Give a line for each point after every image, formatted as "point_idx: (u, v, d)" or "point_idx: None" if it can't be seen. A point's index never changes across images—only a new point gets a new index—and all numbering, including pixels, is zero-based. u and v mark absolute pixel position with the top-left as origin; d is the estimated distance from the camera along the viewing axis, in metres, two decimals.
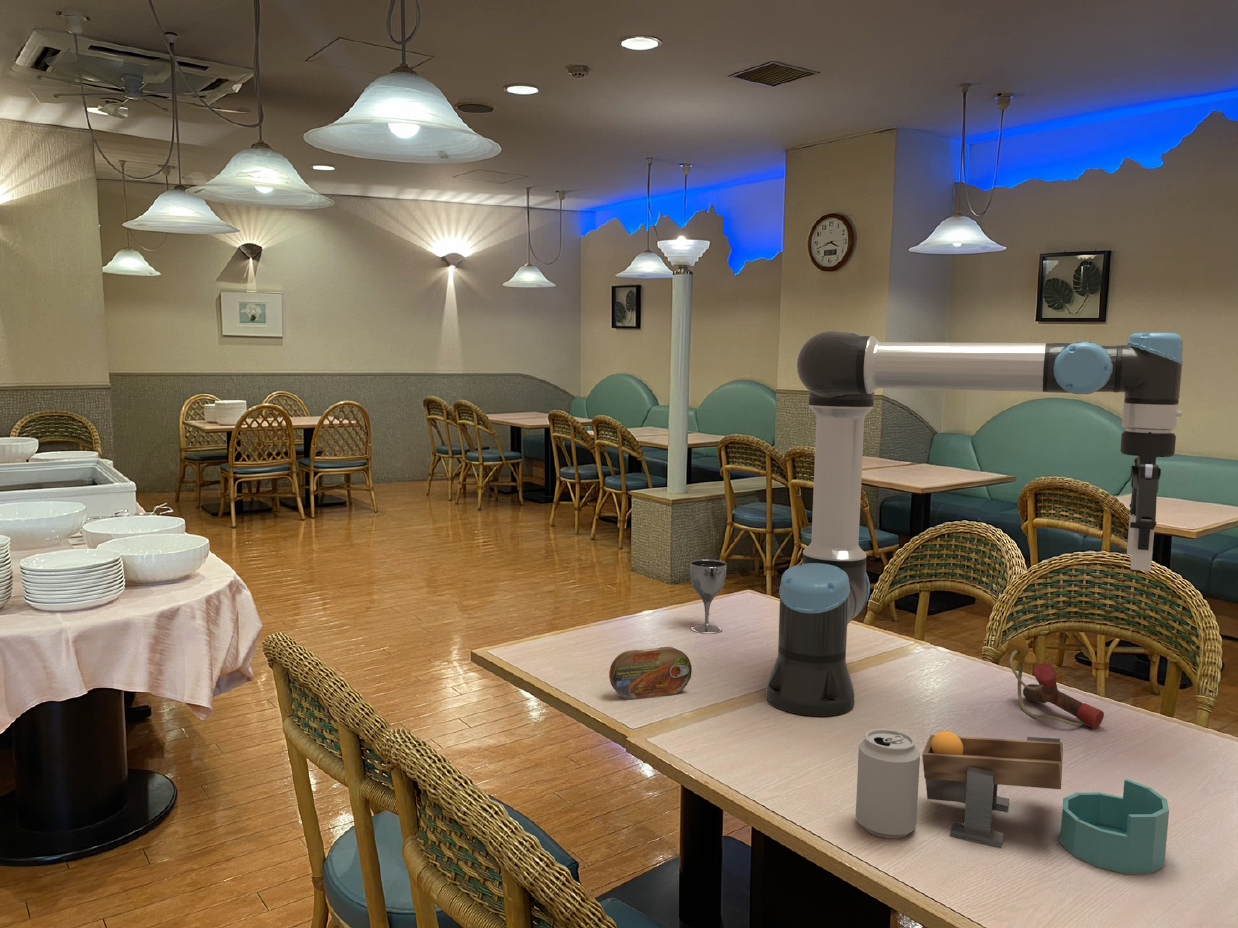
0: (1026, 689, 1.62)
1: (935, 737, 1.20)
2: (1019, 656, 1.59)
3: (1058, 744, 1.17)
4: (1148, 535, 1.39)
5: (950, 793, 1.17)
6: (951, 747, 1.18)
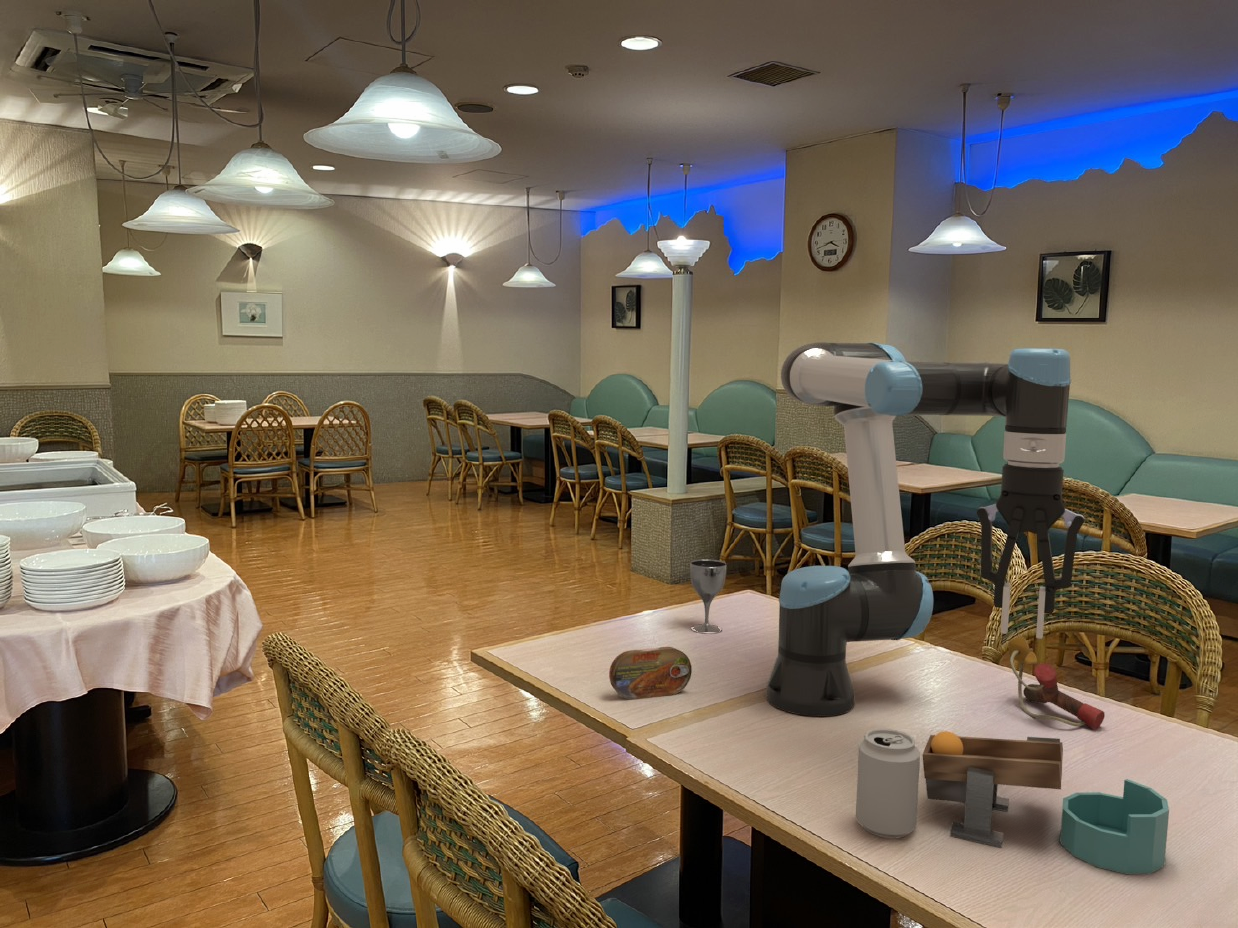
0: (1027, 689, 1.62)
1: (935, 737, 1.20)
2: (1020, 656, 1.59)
3: (1058, 744, 1.17)
4: (994, 590, 1.26)
5: (950, 793, 1.17)
6: (951, 747, 1.18)
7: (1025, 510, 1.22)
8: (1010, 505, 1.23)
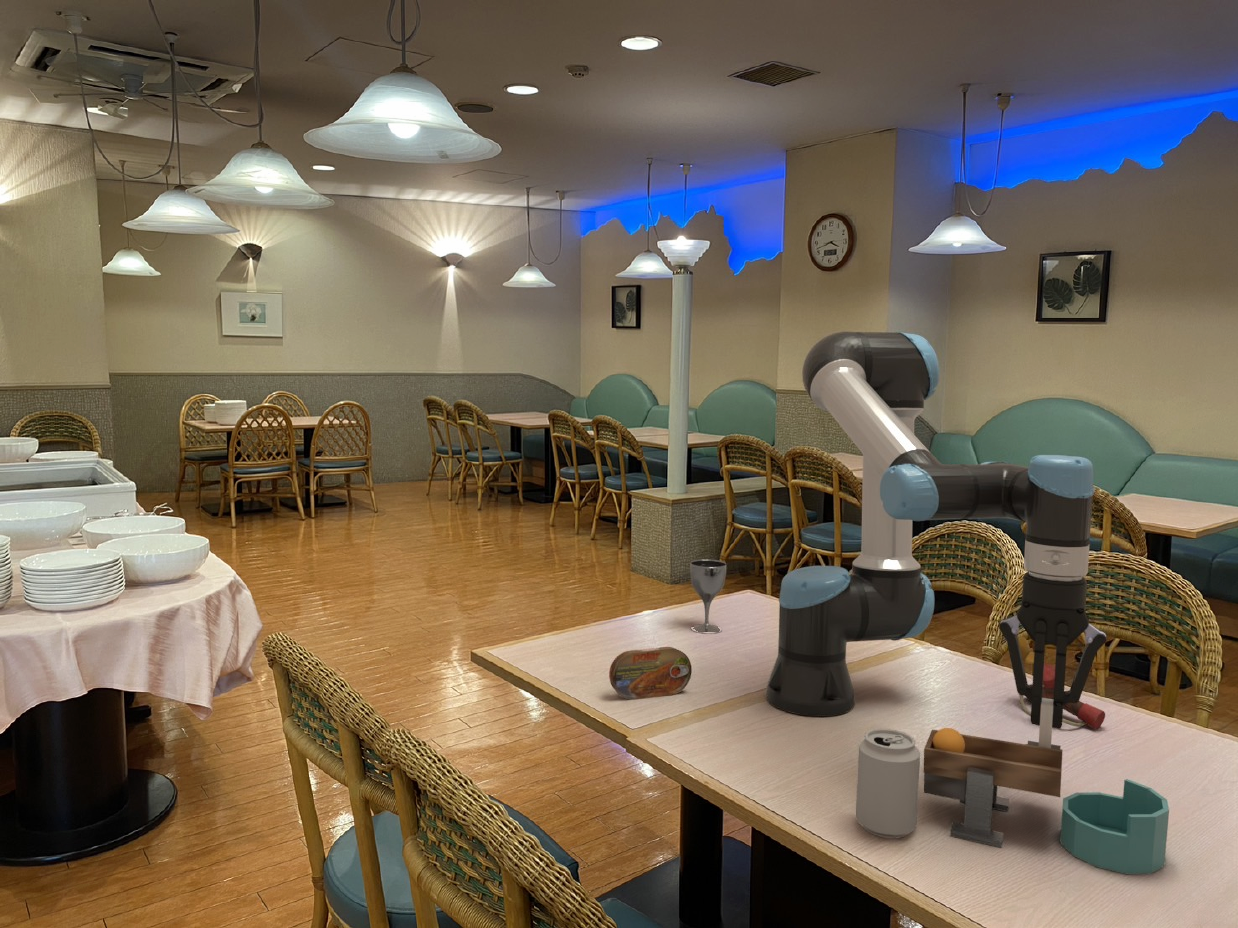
0: None
1: (938, 733, 1.20)
2: None
3: (1060, 751, 1.17)
4: (1031, 706, 1.21)
5: (948, 789, 1.18)
6: (954, 745, 1.18)
7: (1047, 621, 1.18)
8: (1031, 616, 1.19)
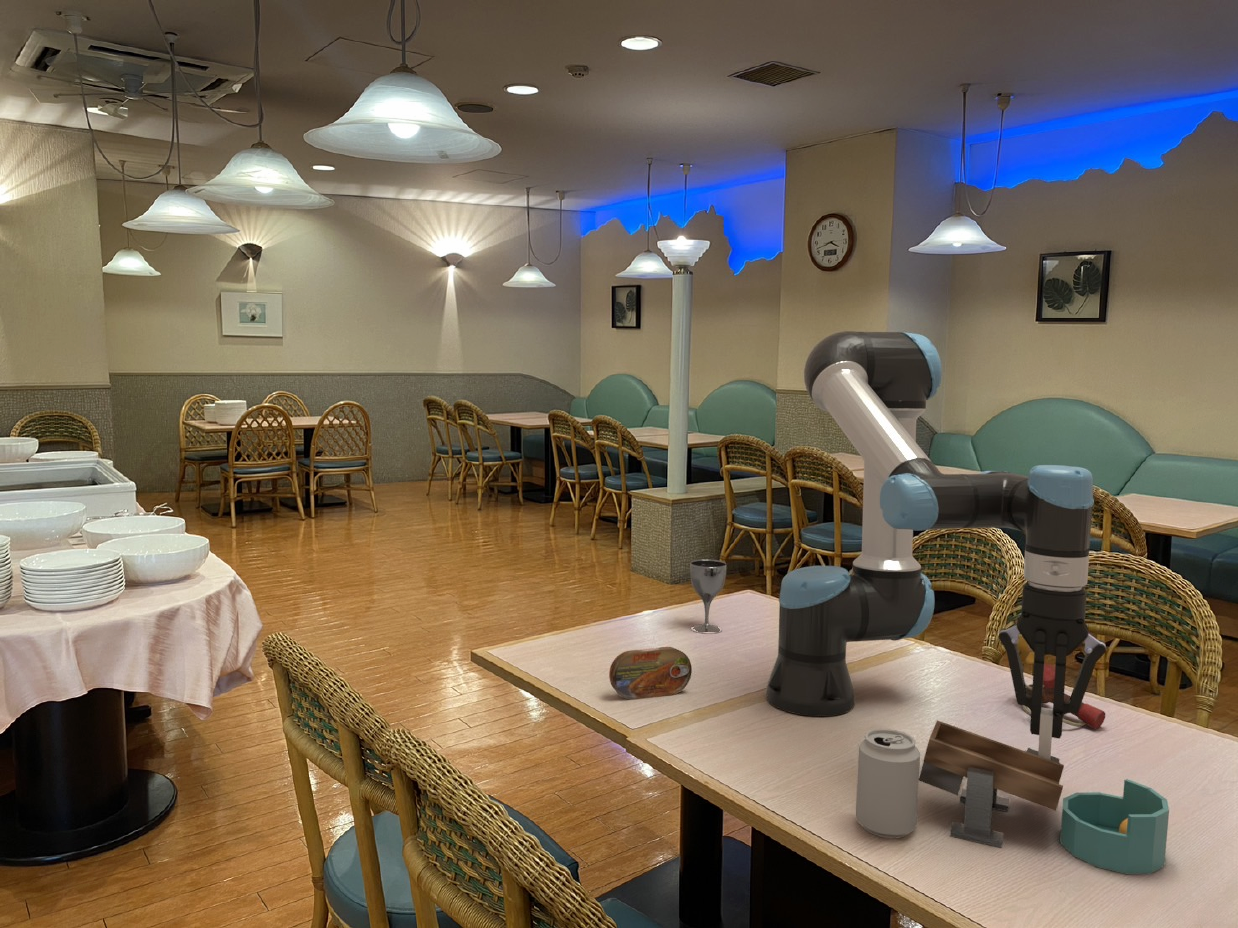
0: (1027, 689, 1.61)
1: (1120, 830, 1.11)
2: (1020, 656, 1.58)
3: (1062, 766, 1.17)
4: None
5: (943, 782, 1.18)
6: None
7: (1047, 631, 1.18)
8: (1031, 626, 1.19)
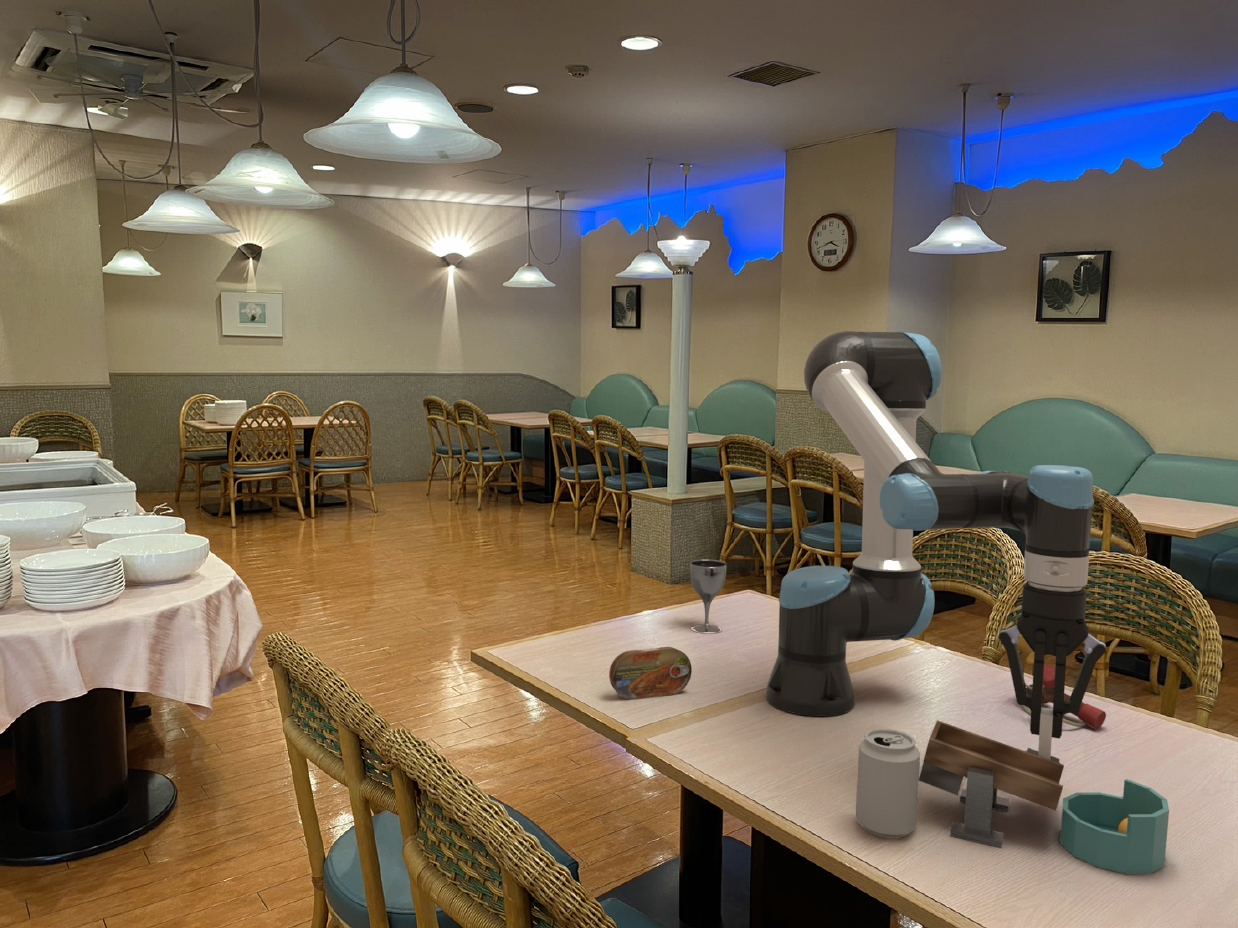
0: (1028, 689, 1.61)
1: (1119, 831, 1.11)
2: (1021, 656, 1.58)
3: (1062, 766, 1.17)
4: None
5: (943, 782, 1.18)
6: None
7: (1047, 631, 1.18)
8: (1031, 626, 1.19)
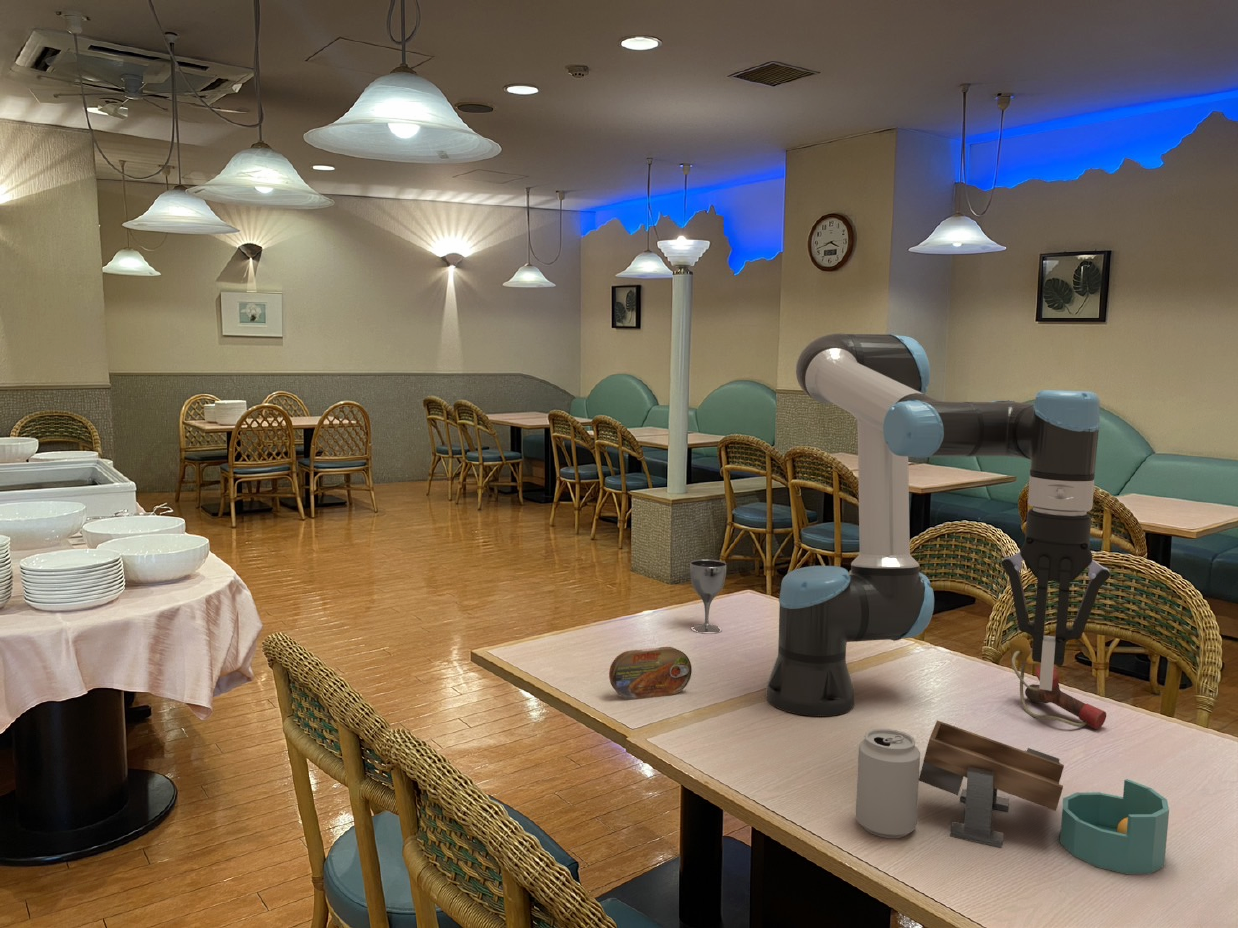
0: (1028, 689, 1.61)
1: (1118, 831, 1.11)
2: (1021, 656, 1.58)
3: (1062, 766, 1.17)
4: None
5: (943, 782, 1.18)
6: None
7: (1050, 557, 1.17)
8: (1035, 552, 1.18)
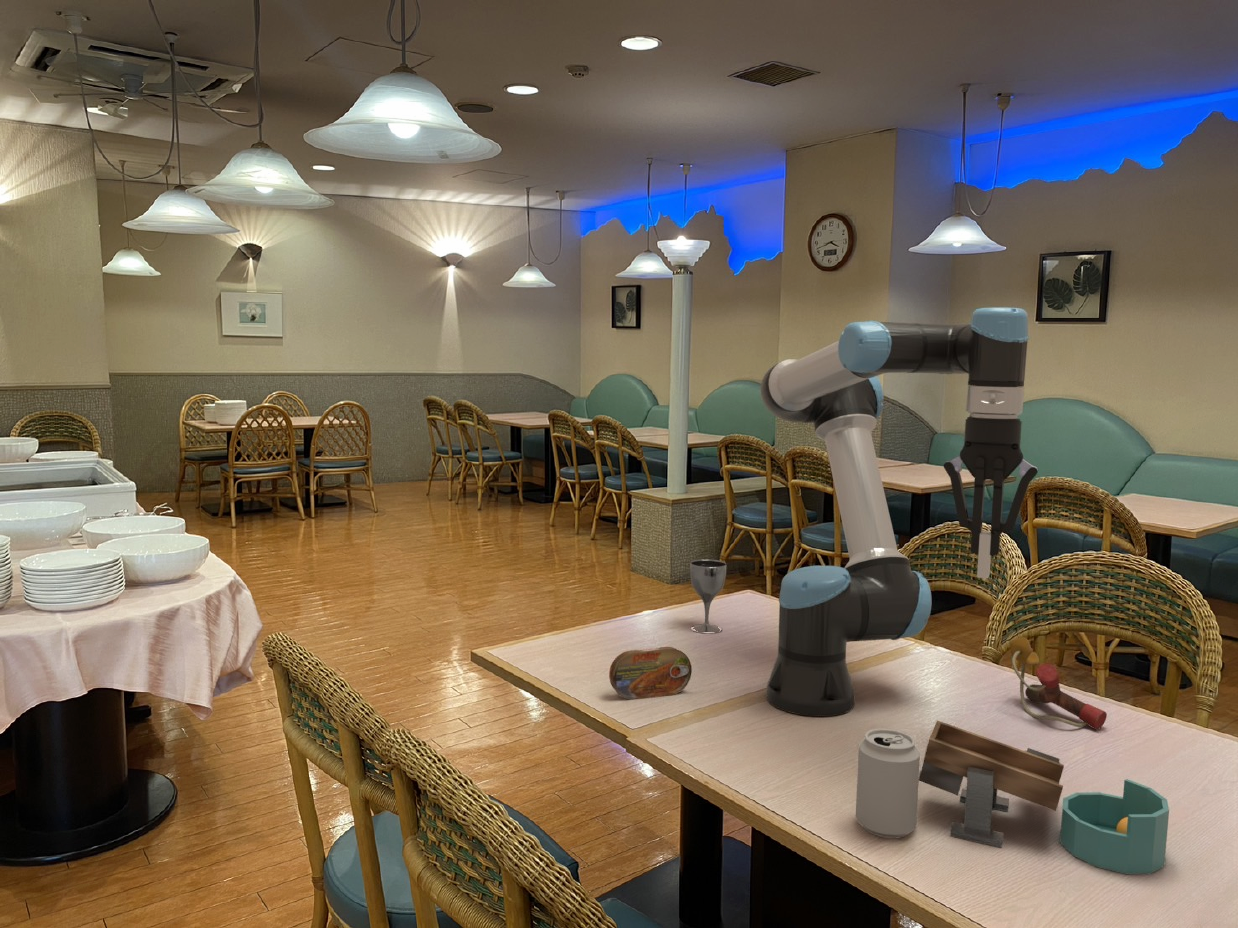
0: (1029, 689, 1.61)
1: (1117, 832, 1.11)
2: (1022, 656, 1.58)
3: (1062, 766, 1.17)
4: (971, 537, 1.34)
5: (943, 782, 1.18)
6: None
7: (986, 458, 1.31)
8: (972, 454, 1.32)
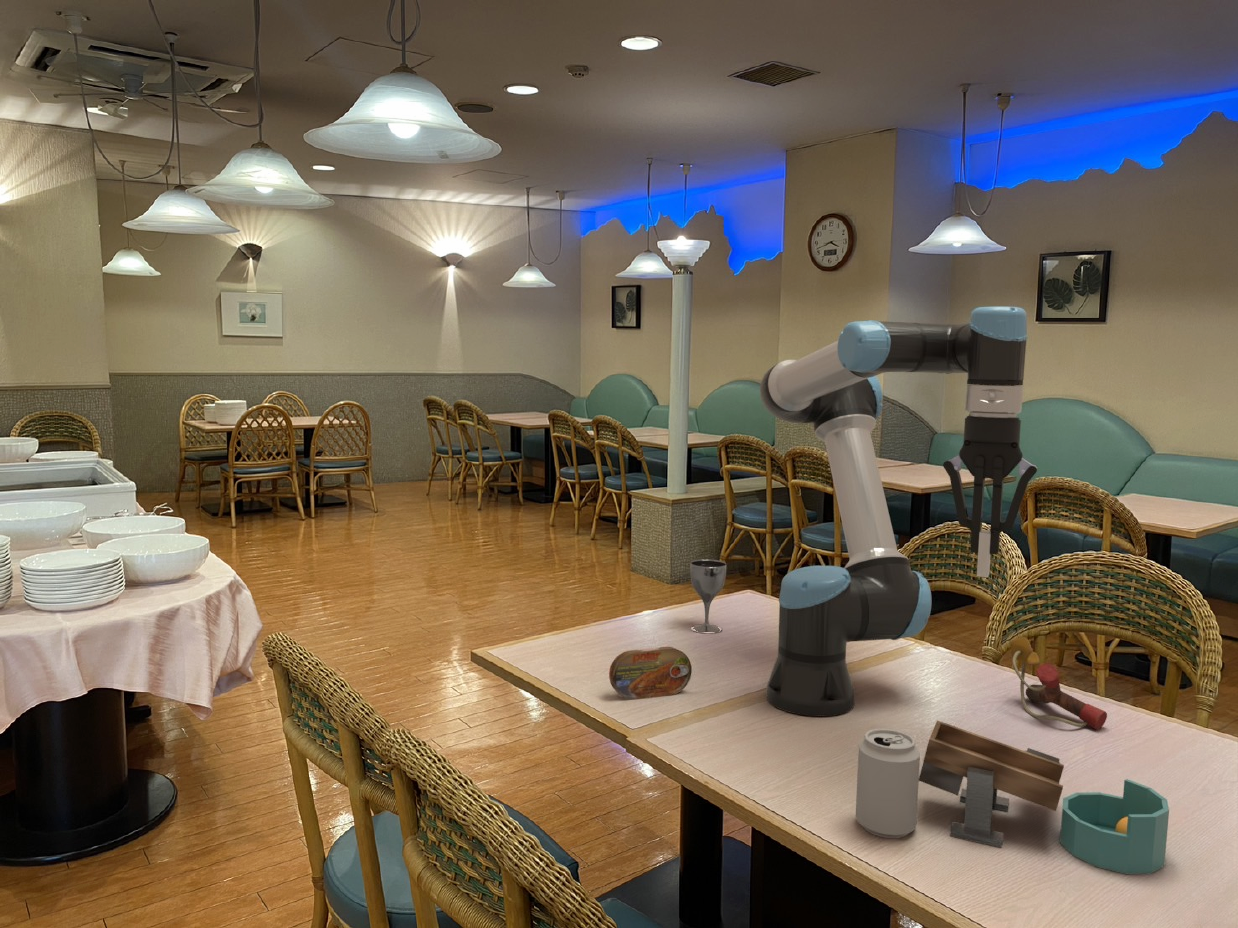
0: (1029, 689, 1.61)
1: None
2: (1022, 656, 1.58)
3: (1062, 766, 1.17)
4: (971, 536, 1.34)
5: (943, 782, 1.18)
6: None
7: (985, 457, 1.31)
8: (972, 453, 1.32)
